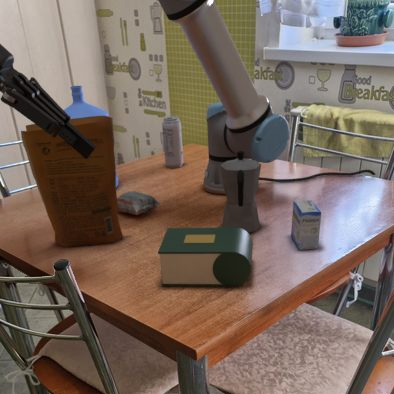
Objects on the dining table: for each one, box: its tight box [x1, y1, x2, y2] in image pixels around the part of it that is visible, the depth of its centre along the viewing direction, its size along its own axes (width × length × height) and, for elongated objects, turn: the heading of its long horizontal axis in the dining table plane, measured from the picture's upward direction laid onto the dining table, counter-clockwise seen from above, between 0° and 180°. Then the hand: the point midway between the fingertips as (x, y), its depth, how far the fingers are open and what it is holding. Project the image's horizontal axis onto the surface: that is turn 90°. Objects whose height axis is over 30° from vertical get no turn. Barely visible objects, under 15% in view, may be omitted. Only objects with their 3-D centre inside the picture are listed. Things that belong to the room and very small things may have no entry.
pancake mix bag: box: [20, 116, 124, 248], centre depth 116 cm, size 7×19×28 cm, turn 96°
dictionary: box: [157, 226, 254, 288], centre depth 106 cm, size 18×12×8 cm, turn 84°
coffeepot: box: [220, 151, 262, 234], centre depth 121 cm, size 15×9×18 cm, turn 176°
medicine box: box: [290, 199, 322, 251], centre depth 115 cm, size 8×4×9 cm, turn 5°
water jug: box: [63, 85, 119, 188], centre depth 150 cm, size 16×16×28 cm
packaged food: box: [117, 190, 161, 216], centre depth 138 cm, size 9×12×5 cm
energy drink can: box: [161, 115, 184, 169], centre depth 169 cm, size 6×6×15 cm
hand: (91, 153), depth 98 cm, fingers closed
